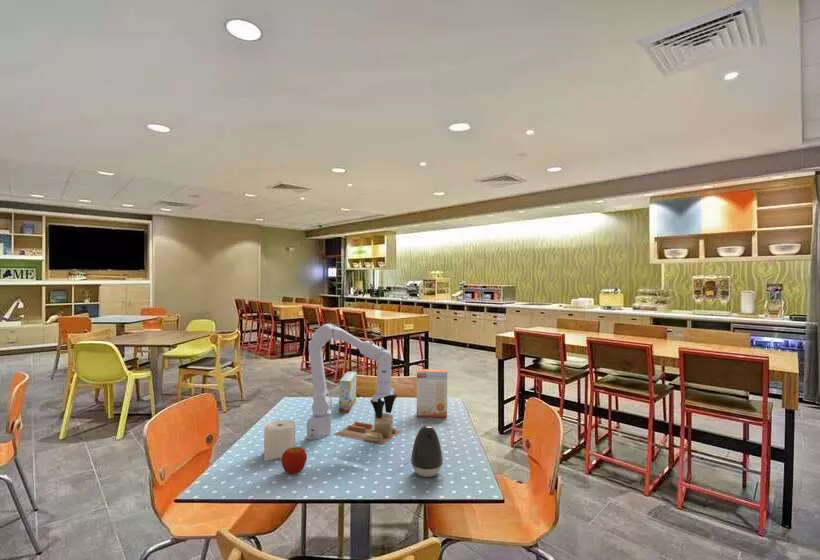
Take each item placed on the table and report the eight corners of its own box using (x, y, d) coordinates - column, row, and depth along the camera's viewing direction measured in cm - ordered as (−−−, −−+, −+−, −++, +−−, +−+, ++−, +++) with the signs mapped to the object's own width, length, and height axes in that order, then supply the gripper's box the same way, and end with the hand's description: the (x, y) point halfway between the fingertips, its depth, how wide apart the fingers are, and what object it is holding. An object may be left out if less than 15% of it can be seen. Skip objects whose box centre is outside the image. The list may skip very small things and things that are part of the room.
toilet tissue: (295, 445, 154) (295, 418, 155) (295, 458, 143) (295, 429, 143) (265, 448, 152) (265, 420, 152) (262, 462, 140) (262, 432, 140)
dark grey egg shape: (416, 483, 127) (416, 433, 127) (407, 468, 137) (407, 422, 137) (447, 479, 130) (448, 430, 130) (436, 465, 140) (437, 419, 140)
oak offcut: (376, 439, 156) (376, 436, 156) (365, 437, 158) (365, 434, 158) (381, 436, 159) (381, 433, 159) (370, 434, 161) (370, 431, 161)
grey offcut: (377, 442, 155) (377, 439, 155) (364, 439, 158) (364, 437, 158) (382, 439, 159) (383, 436, 159) (369, 436, 162) (369, 433, 162)
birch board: (389, 435, 163) (390, 416, 163) (374, 432, 166) (374, 413, 166) (392, 433, 165) (392, 414, 165) (377, 430, 168) (377, 412, 168)
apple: (296, 464, 139) (297, 441, 139) (311, 471, 134) (312, 447, 134) (276, 472, 133) (276, 447, 133) (291, 480, 128) (291, 454, 128)
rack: (381, 447, 153) (382, 440, 153) (333, 437, 163) (333, 430, 163) (402, 434, 168) (402, 427, 168) (356, 425, 178) (356, 418, 178)
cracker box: (447, 413, 195) (447, 369, 195) (447, 418, 189) (447, 371, 189) (417, 412, 196) (417, 368, 196) (416, 416, 190) (416, 370, 190)
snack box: (350, 413, 194) (350, 380, 194) (338, 412, 194) (338, 380, 194) (356, 400, 215) (357, 371, 215) (345, 400, 215) (346, 370, 216)
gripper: (383, 386, 157) (383, 422, 157) (401, 378, 170) (401, 411, 170) (367, 384, 160) (367, 419, 160) (386, 376, 173) (386, 409, 173)
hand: (383, 415), depth 165 cm, fingers open, 7 cm apart
